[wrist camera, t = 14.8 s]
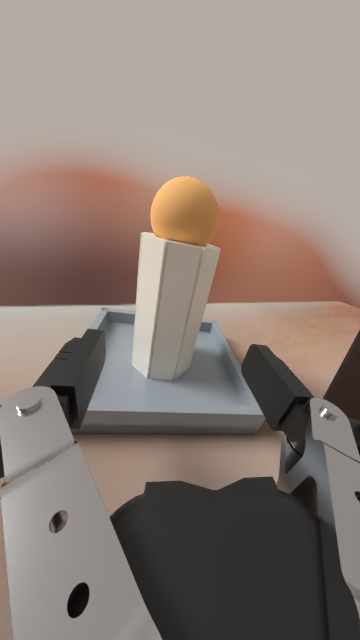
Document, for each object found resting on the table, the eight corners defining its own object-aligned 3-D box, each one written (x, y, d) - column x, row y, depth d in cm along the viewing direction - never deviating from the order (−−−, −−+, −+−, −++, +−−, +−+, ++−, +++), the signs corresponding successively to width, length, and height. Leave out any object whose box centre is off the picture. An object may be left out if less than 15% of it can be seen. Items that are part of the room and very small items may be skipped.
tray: (43, 432, 12) (36, 408, 11) (103, 323, 26) (102, 307, 24) (256, 433, 15) (268, 414, 14) (211, 334, 28) (215, 321, 27)
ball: (145, 252, 12) (153, 157, 10) (149, 244, 17) (155, 176, 14) (216, 265, 13) (238, 179, 11) (202, 253, 17) (216, 191, 15)
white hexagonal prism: (128, 377, 17) (138, 235, 11) (136, 340, 22) (145, 230, 16) (192, 381, 18) (229, 252, 12) (184, 344, 23) (208, 243, 17)
